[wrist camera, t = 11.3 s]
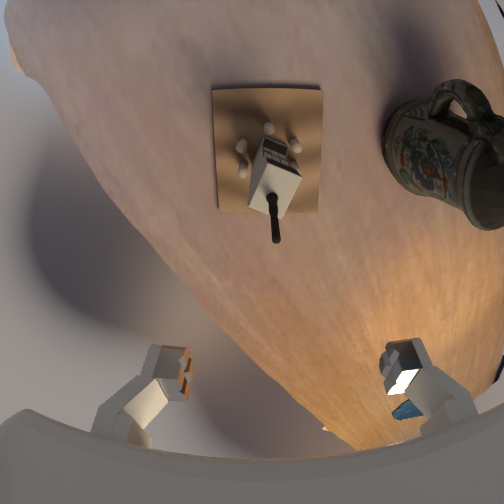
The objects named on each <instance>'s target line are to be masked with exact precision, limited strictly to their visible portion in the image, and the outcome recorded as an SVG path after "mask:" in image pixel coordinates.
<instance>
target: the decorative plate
mask: <svg viewBox="0 0 504 504" xmlns="http://www.w3.org/2000/svg"><path fill="white" fill-rule="evenodd" d="M410 410H411V411H410ZM408 411H409V412H408ZM422 415H424V414H423V413H422V412H421V411H420V410H419V409H418V408H417V407H416V406H415V405H414V404H413V403H412V402H411V401H410V400H408V401H407V402H405V403H403V404H402V405H401V406H400V407H399V408H398V409H397V410H394V411H393V412H392V416H393V417H394V418H395V417H396V416H397V417H396V418H395V419H397V420H402V419H407V418H412V417H417V416H422Z"/></svg>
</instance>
